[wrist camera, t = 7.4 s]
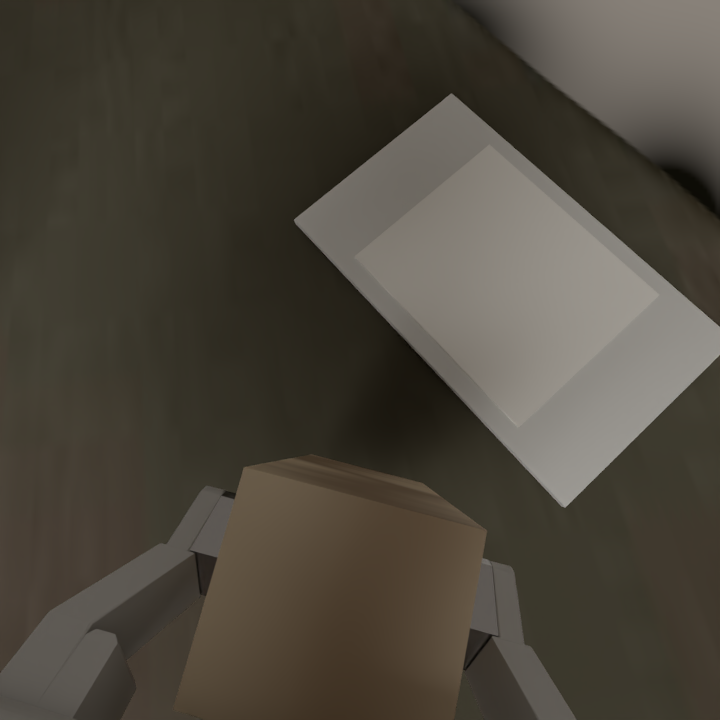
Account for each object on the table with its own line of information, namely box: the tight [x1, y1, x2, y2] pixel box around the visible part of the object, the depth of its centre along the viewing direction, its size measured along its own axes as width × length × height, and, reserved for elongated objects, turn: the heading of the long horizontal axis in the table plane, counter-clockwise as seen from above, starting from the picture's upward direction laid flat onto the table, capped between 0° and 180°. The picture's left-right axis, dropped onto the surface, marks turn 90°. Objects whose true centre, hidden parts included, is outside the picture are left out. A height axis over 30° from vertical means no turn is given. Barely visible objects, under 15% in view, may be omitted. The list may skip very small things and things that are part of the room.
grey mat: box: [294, 93, 720, 507], centre depth 21 cm, size 20×12×1 cm, turn 41°
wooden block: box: [173, 455, 487, 720], centre depth 11 cm, size 4×4×9 cm
